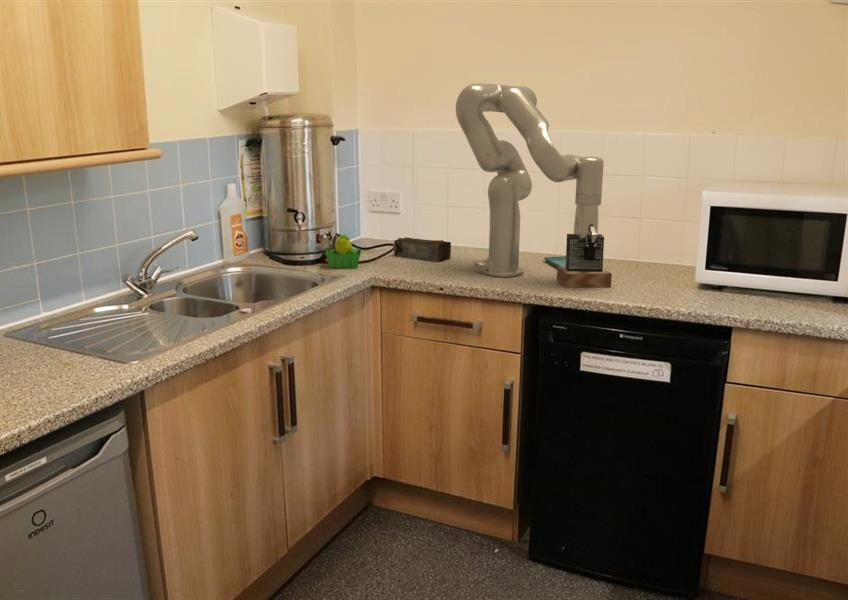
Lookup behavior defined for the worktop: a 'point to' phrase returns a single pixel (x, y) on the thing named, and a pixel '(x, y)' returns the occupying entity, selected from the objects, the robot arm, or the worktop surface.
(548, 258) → the shallow long dish
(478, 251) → the worktop surface
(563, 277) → the brown rectangular tray
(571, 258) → the small box
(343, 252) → the fruit basket
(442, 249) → the dark rectangular box
